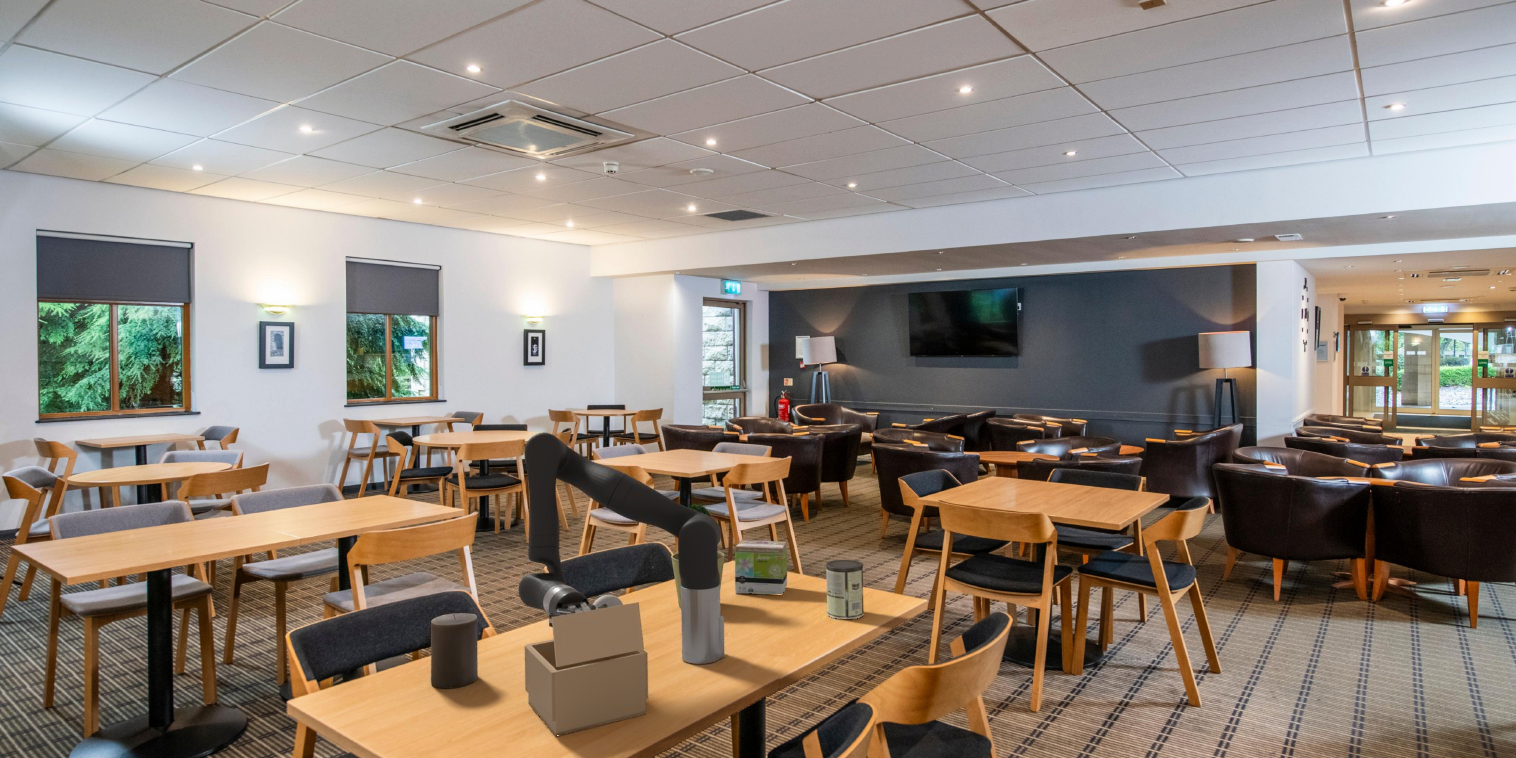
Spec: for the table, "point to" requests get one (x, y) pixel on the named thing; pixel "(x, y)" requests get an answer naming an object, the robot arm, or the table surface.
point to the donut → (608, 601)
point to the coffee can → (844, 589)
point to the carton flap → (597, 634)
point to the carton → (585, 688)
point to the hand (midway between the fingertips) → (593, 626)
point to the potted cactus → (676, 562)
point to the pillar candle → (454, 650)
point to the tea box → (760, 567)
